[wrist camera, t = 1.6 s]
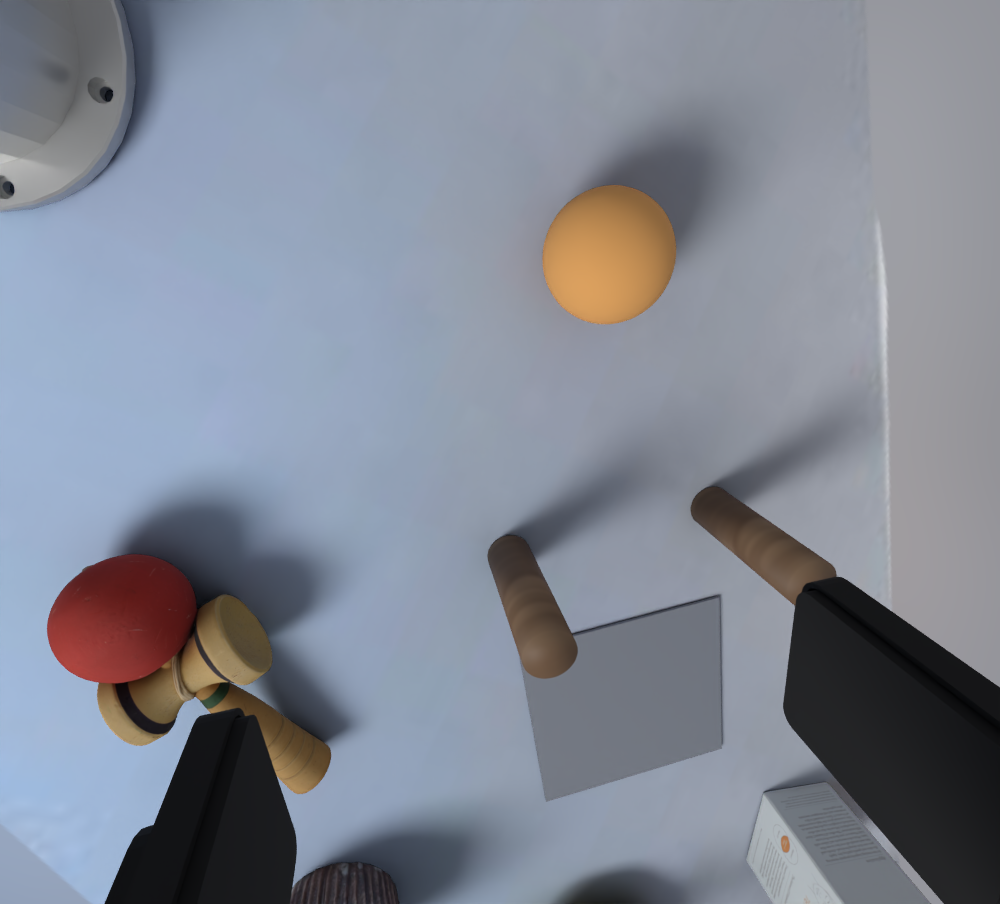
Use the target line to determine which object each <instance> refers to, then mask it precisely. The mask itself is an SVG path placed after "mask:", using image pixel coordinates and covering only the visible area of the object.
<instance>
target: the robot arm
mask: <svg viewBox="0 0 1000 904" xmlns="http://www.w3.org/2000/svg"><path fill="white" fill-rule="evenodd" d="M135 83H136V78H135V64H134V50H133V43H132V39H131V35H130V31H129V27H128V23H127V19H126V15H125V11H124V8H123V6H122V3H121V1H120V0H0V212H9V211H20V210H30V209H35V208H38V207H42V206H45V205H48V204H51V203H54V202H58V201H61V200H63V199H65V198H66V197H68V196H70V195H71V194H73V193H75V192H77V191H78V190H80V189H82V188H84V187H85V186H87V185H88V184H89V183H90V182H91V181H92V180H93V179H94V178H95V177H96V176H97V175H98V174H99V173H100V172H101V171H102V170H103V169H104V168H105V167H106V166H107V165H108V163H109V162H110V160H111V159H112V157H113V155H114V154H115V152H116V151H117V149H118V148H119V146H120V144H121V143H122V141H123V138H124V135H125V132H126V129H127V126H128V123H129V120H130V117H131V115H132V108H133V100H134V92H135ZM108 90H113V98H112V100H111V101H110V102H107V100H106V99H105V93H106V91H108ZM12 183H13V185H14V189H15V192H14V194H12V193H11V191H10V185H11V184H12ZM783 709H784V714H785V716H786V719H787V721H788V723H789V724H790V726H791V727H792V729H793V730H794V731H795V732H796V733H797V734H798V736H799V737H800V738H801V739H802V740H803V741H804V742H805V744H806V745H807V746H808V747H809V748H810V749H811V751H812V752H813V753H814V754H815V755H816V756H817V757H818V759H819V760H820V761H821V762H822V763H823V764H824V766H825V767H826V768H827V769H828V770H829V771H830V773H831V774H832V775H833V776H834V777H835V778H836V779H837V781H838V782H839V783H840V784H841V785H842V786H843V788H844V789H845V790H846V791H847V792H848V793H849V794H850V796H851V797H852V798H853V799H854V800H855V801H856V803H857V804H858V805H859V806H860V807H861V808H862V810H863V811H864V812H865V813H866V814H867V815H868V816H869V818H870V819H871V820H872V821H873V822H874V823H875V825H876V826H877V827H878V828H879V829H880V830H881V831H882V833H883V834H884V835H885V836H886V837H887V838H888V840H889V841H890V842H891V843H892V844H893V845H894V847H895V848H896V849H897V850H898V851H899V852H900V853H901V855H902V856H903V857H904V858H905V859H906V860H907V862H909V864H910V865H911V866H912V867H913V868H914V870H915V871H916V872H917V873H918V874H919V875H920V877H921V878H922V879H923V880H924V881H925V882H926V884H927V885H928V886H929V887H930V888H931V889H932V890H933V892H934V893H935V894H936V895H937V896H938V897H939V898H940V900H941V901H942V902H943V903H944V904H1000V687H998V686H997V685H995V684H994V683H993V682H991V681H990V680H988V679H987V678H985V677H984V676H983V675H981V674H980V673H978V672H977V671H975V670H974V669H973V668H971V667H970V666H968V665H967V664H966V663H964V662H963V661H961V660H960V659H958V658H957V657H955V656H954V655H953V654H951V653H950V652H948V651H947V650H946V649H944V648H943V647H941V646H940V645H939V644H937V643H936V642H934V641H933V640H931V639H930V638H929V637H927V636H926V635H924V634H923V633H922V632H920V631H919V630H917V629H916V628H914V627H913V626H912V625H910V624H908V623H907V622H906V621H904V620H903V619H902V618H900V617H899V616H897V615H896V614H894V613H893V612H892V611H890V610H889V609H887V608H886V607H885V606H883V605H882V604H880V603H879V602H877V601H876V600H875V599H873V598H872V597H870V596H869V595H867V594H866V593H865V592H863V591H862V590H860V589H859V588H858V587H856V586H855V585H853V584H852V583H850V582H849V581H848V580H846V579H844V578H842V577H832V578H827V579H823V580H818V581H813V582H809V583H806V584H805V585H804V587H803V588H802V592H801V593H800V594H799V595H798V596H797V598H796V604H795V612H794V620H793V629H792V637H791V645H790V653H789V662H788V670H787V678H786V686H785V695H784V703H783ZM296 854H297V844H296V834H295V830H294V827H293V824H292V821H291V818H290V815H289V812H288V809H287V806H286V803H285V800H284V797H283V794H282V791H281V788H280V785H279V782H278V779H277V776H276V773H275V770H274V767H273V764H272V761H271V758H270V755H269V752H268V749H267V746H266V743H265V740H264V737H263V734H262V731H261V728H260V725H259V722H258V719H257V717H256V716H255V715H249V716H245V714H244V712H243V710H242V709H241V708H234V709H229V710H225V711H220V712H216V713H211V714H207V715H202V716H199V717H198V718H197V719H196V721H195V723H194V725H193V727H192V729H191V732H190V735H189V737H188V740H187V742H186V745H185V747H184V750H183V752H182V755H181V757H180V760H179V762H178V765H177V767H176V770H175V772H174V775H173V777H172V780H171V783H170V785H169V788H168V790H167V793H166V795H165V798H164V800H163V803H162V805H161V808H160V810H159V813H158V815H157V818H156V820H155V823H154V825H152V826H148V827H146V828H143V829H141V830H140V831H139V832H138V834H137V835H136V836H135V837H134V838H133V840H132V842H131V844H130V846H129V848H128V850H127V852H126V854H125V857H124V859H123V861H122V864H121V866H120V868H119V871H118V873H117V875H116V878H115V880H114V883H113V885H112V887H111V890H110V892H109V894H108V897H107V899H106V901H105V904H290V899H291V892H292V885H293V878H294V871H295V863H296Z"/></svg>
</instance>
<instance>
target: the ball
mask: <svg viewBox="0 0 1000 904" xmlns="http://www.w3.org/2000/svg"><path fill="white" fill-rule="evenodd" d="M675 259H676V241H675V236H674V231H673V228H672V225H671V222H670V220H669V219H668V217H667V215H666V213H665V212H664V210H663V209H662V208H661V207H660V205H659V204H658V203H657V202H656V201H654V200H653V199H652V198H651V197H649V196H648V195H647V194H645V193H643V192H641V191H639V190H637V189H634V188H631V187H626V186H621V185H608V186H601V187H596V188H593V189H590V190H588V191H585V192H584V193H582V194H580V195H578V196H577V197H575V198H574V199H572V200H571V201H570V202H568V203H567V204H566V205H565V206H564V207H563V208H562V209H561V211H560V212H559V213H558V215H557V216H556V217H555V219H554V221H553V222H552V224H551V226H550V228H549V230H548V233H547V236H546V239H545V242H544V248H543V270H544V276H545V279H546V282H547V285H548V287H549V289H550V291H551V293H552V295H553V296H554V298H555V299H556V301H557V302H558V303H559V304H560V305H561V306H562V307H563V308H564V309H565V310H566V311H567V312H569V313H570V314H572V315H573V316H575V317H577V318H579V319H581V320H584V321H587V322H590V323H597V324H614V323H619V322H623V321H627V320H629V319H632V318H634V317H636V316H638V315H639V314H641V313H643V312H644V311H645V310H647V309H648V308H649V307H651V306H652V305H653V304H654V303H655V302H656V301H657V299H658V298H659V297H660V296H661V294H662V293H663V291H664V290H665V288H666V286H667V284H668V282H669V281H670V278H671V275H672V273H673V269H674V265H675Z"/></svg>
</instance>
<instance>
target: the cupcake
mask: <svg viewBox="0 0 1000 904" xmlns="http://www.w3.org/2000/svg"><path fill="white" fill-rule="evenodd" d="M290 904H399V900H398V894H397V890H396V886H395V884H394V882H393V881H392V879H391V877H390V875H389V874H387V873H386V872H384V871H382V870H381V869H380V868H377V867H375V866H373V865H369V864H364V863H360V862H355V863H336V864H331V865H328V866H326V867H322V868H319V869H316V870H315V871H313V872H312V873H310V874H308V875H306V876H304V877H303V878H302V879H301V880H300V881H298V882H297V883H296V884H295V885H294V887H293V888H292V892H291V899H290Z"/></svg>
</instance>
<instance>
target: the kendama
mask: <svg viewBox="0 0 1000 904" xmlns="http://www.w3.org/2000/svg"><path fill="white" fill-rule="evenodd" d="M47 634H48V640H49V644H50V647H51V649H52V651H53V653H54V655H55V657H56V658H57V660H58V661H59V662H60V663H61V664H62V665H63V666H64V667H65V668H66V669H67V670H68V671H69V672H71V673H73V674H75V675H76V676H78V677H80V678H83V679H86V680H90V681H93V682H99V684H98V690H97V700H98V705H99V709H100V712H101V714H102V717H103V718H104V720H105V722H106V724H107V725H108V726H109V728H110V729H111V730H112V731H113V732H114V733H115V735H117V736H118V737H119V738H120V739H122V740H123V741H125V742H127V743H129V744H132V745H136V746H142V745H147V744H149V743H151V742H153V741H155V740H157V739H159V738H161V737H162V736H164V735H166V734H167V733H168V732H169V731H170V730H171V728H172V727H173V725H174V723H175V721H176V718H177V714H178V712H179V710H180V708H181V706H182V705H183V703H184V702H185V701H189V700H191V699H193V698H194V697H197V698H198V699H199V700H200V701H201V702H202V704H203V705H204V706H205V707H206V708H207V710H208V711H209V712H210V713H216V712H220V711H225V710H229V709H234V708H241V709H242V710H243V712H244V714H245V716H249V715H255V716H256V717H257V719H258V722H259V725H260V728H261V731H262V734H263V737H264V740H265V743H266V746H267V749H268V752H269V755H270V758H271V761H272V764H273V767H274V770H275V773H276V776H277V777H279V779H280V780H281V781H282V782H283V783H284V784H285V785H286V786H287V787H288V788H289V789H290V790H292V791H293V792H294V793H297V794H303V793H306V792H308V791H310V790H312V789H313V788H314V787H315V786H316V785H317V784H318V783H319V782H320V781H321V780H322V778H323V777H324V775H325V774H326V772H327V769H328V767H329V764H330V760H331V751H330V748H329V747H328V745H326V744H325V743H324V742H322V741H321V740H319V739H317V738H316V737H314V736H313V735H311V734H309V733H308V732H307V731H305V730H304V729H302V728H300V727H299V726H298V725H296V724H295V723H293V722H292V721H290V720H289V719H287V718H286V717H285V716H283V715H282V714H280V713H279V712H277V711H276V710H275V709H273V708H272V707H270V706H269V705H268V704H266V703H265V702H263V701H261V700H260V699H258V698H257V697H255V696H253V695H252V694H250V693H248V692H246V691H244V690H243V689H241V688H239V687H237V686H235V685H234V684H232V683H236V684H239V685H247V684H250V683H252V682H253V681H255V680H256V679H257V678H259V677H260V676H262V675H263V674H265V673H266V672H267V671H268V670H269V669H270V667H271V665H272V651H271V646H270V642H269V640H268V637H267V635H266V633H265V631H264V629H263V627H262V626H261V624H260V622H259V621H258V619H257V618H256V616H255V615H254V614H252V613H251V612H250V611H249V609H248V608H247V606H246V605H245V604H244V603H243V602H241V601H240V600H239V599H237V598H235V597H233V596H231V595H226V594H225V595H220V596H218V597H217V598H215V599H213V600H212V601H210V602H208V603H206V604H205V605H203V606H202V607H201V608H200V609H197V607H196V598H195V594H194V591H193V588H192V586H191V584H190V582H189V581H188V579H187V578H186V577H185V575H184V574H183V573H182V572H181V571H180V570H178V569H177V568H176V567H175V566H173V565H172V564H170V563H168V562H166V561H164V560H162V559H159V558H156V557H153V556H148V555H141V554H129V555H122V556H117V557H112V558H109V559H106V560H103V561H101V562H99V563H96V564H94V565H91V566H87V567H86V568H84V569H83V570H82V572H81V573H80V574H79V575H77V576H76V577H75V578H74V579H73V580H71V581H70V582H69V583H68V584H67V585H66V586H65V588H64V589H63V590H62V591H61V593H60V594H59V596H58V597H57V599H56V600H55V602H54V604H53V606H52V608H51V611H50V614H49V618H48V624H47ZM230 682H232V683H230Z"/></svg>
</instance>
